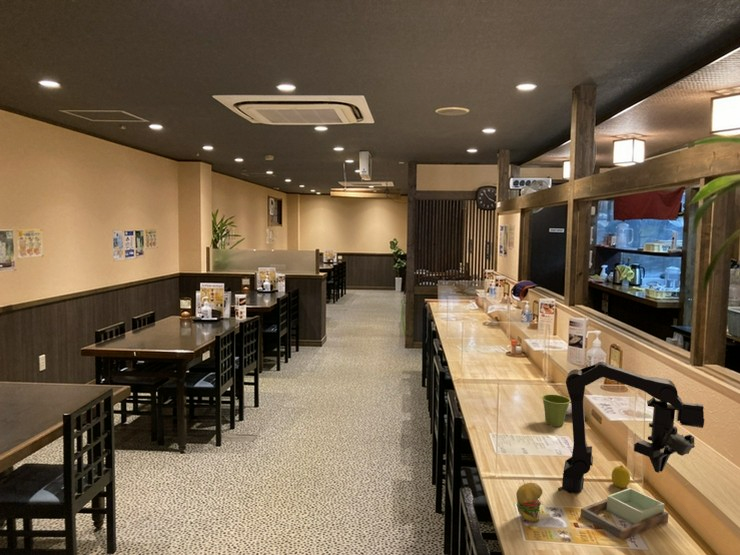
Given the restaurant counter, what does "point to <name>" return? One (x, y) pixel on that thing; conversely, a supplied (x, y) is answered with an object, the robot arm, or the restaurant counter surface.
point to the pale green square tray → (633, 505)
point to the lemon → (620, 477)
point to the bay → (617, 531)
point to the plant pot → (555, 409)
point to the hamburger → (529, 501)
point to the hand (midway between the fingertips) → (658, 471)
